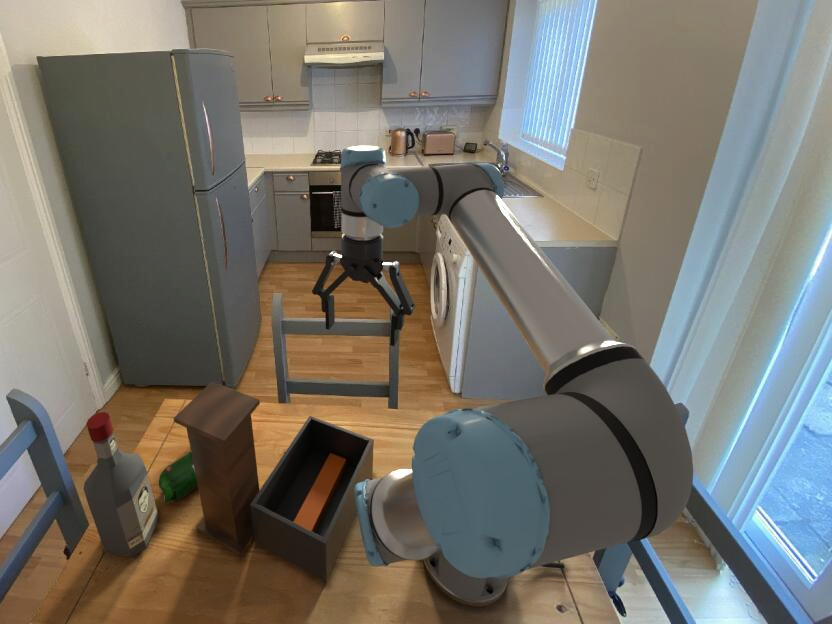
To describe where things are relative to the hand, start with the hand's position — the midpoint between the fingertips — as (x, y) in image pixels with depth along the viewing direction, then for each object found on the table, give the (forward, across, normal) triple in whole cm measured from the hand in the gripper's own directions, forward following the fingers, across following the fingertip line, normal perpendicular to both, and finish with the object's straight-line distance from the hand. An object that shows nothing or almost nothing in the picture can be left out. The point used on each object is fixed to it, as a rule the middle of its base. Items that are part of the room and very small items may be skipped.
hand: (361, 334), depth 83 cm
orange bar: (+35, +4, +12) cm, 37 cm away
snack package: (+36, +32, +18) cm, 52 cm away
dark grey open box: (+36, +4, +12) cm, 39 cm away
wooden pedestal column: (+36, +18, +22) cm, 46 cm away
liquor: (+36, +36, +33) cm, 61 cm away
